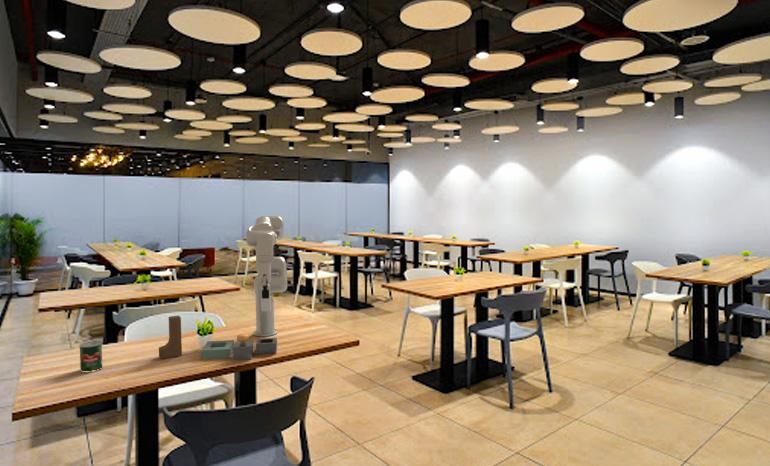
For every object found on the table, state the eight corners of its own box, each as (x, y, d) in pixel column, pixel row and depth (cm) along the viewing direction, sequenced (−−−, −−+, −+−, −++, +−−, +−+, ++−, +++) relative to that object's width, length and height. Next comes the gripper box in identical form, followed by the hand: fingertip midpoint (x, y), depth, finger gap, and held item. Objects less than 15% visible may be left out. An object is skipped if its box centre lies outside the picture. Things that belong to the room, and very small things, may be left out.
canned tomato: (86, 374, 188) (85, 347, 187) (76, 370, 192) (75, 344, 191) (106, 368, 194) (105, 343, 194) (96, 364, 198) (95, 340, 198)
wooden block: (160, 359, 205) (159, 319, 204) (158, 356, 209) (157, 317, 208) (182, 355, 211) (180, 317, 209) (180, 353, 214) (178, 315, 213)
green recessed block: (208, 349, 219) (207, 341, 219) (234, 348, 221) (233, 339, 221) (201, 359, 206) (201, 350, 205) (229, 357, 208) (229, 348, 207)
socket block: (257, 348, 220) (257, 338, 220) (277, 347, 222) (276, 337, 221) (256, 355, 211) (255, 344, 211) (276, 353, 213) (275, 343, 212)
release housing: (235, 354, 212) (235, 341, 212) (253, 353, 213) (253, 340, 213) (232, 360, 204) (232, 347, 204) (251, 359, 206) (251, 346, 205)
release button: (238, 353, 211) (237, 334, 210) (249, 352, 212) (249, 333, 211) (236, 357, 206) (236, 337, 205) (248, 356, 207) (247, 336, 206)
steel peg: (262, 309, 217) (261, 284, 216) (270, 309, 218) (270, 284, 217) (261, 311, 213) (260, 285, 212) (270, 311, 214) (269, 285, 213)
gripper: (258, 256, 221) (259, 294, 223) (255, 261, 205) (255, 301, 206) (274, 256, 223) (275, 293, 224) (272, 260, 206) (273, 300, 207)
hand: (265, 296), depth 215 cm, fingers closed on steel peg, 4 cm apart
